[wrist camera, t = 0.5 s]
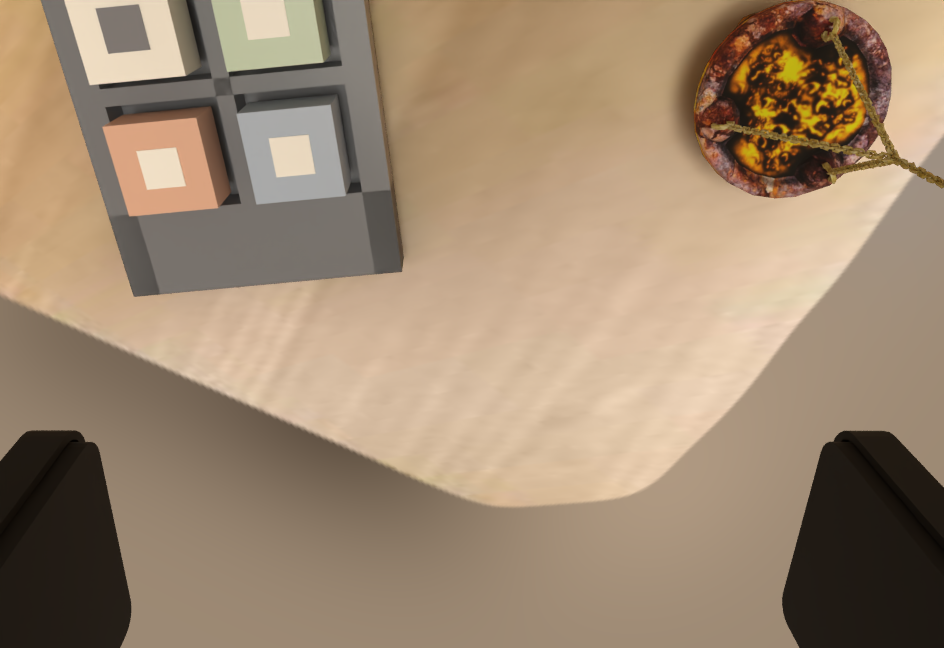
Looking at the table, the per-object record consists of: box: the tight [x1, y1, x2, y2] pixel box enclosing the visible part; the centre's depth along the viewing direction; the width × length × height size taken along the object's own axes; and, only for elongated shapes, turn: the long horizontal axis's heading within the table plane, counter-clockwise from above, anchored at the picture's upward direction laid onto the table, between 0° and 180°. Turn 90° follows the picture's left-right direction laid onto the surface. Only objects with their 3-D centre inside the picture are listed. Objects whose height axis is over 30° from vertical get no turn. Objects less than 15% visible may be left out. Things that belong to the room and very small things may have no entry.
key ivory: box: [64, 0, 202, 85], centre depth 34 cm, size 4×4×3 cm
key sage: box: [211, 0, 331, 72], centre depth 34 cm, size 4×4×3 cm
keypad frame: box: [41, 0, 404, 297], centre depth 37 cm, size 20×14×2 cm
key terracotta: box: [102, 106, 231, 217], centre depth 37 cm, size 4×4×3 cm
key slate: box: [237, 94, 352, 204], centre depth 37 cm, size 4×4×3 cm
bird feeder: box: [694, 0, 944, 198], centre depth 26 cm, size 9×9×30 cm
